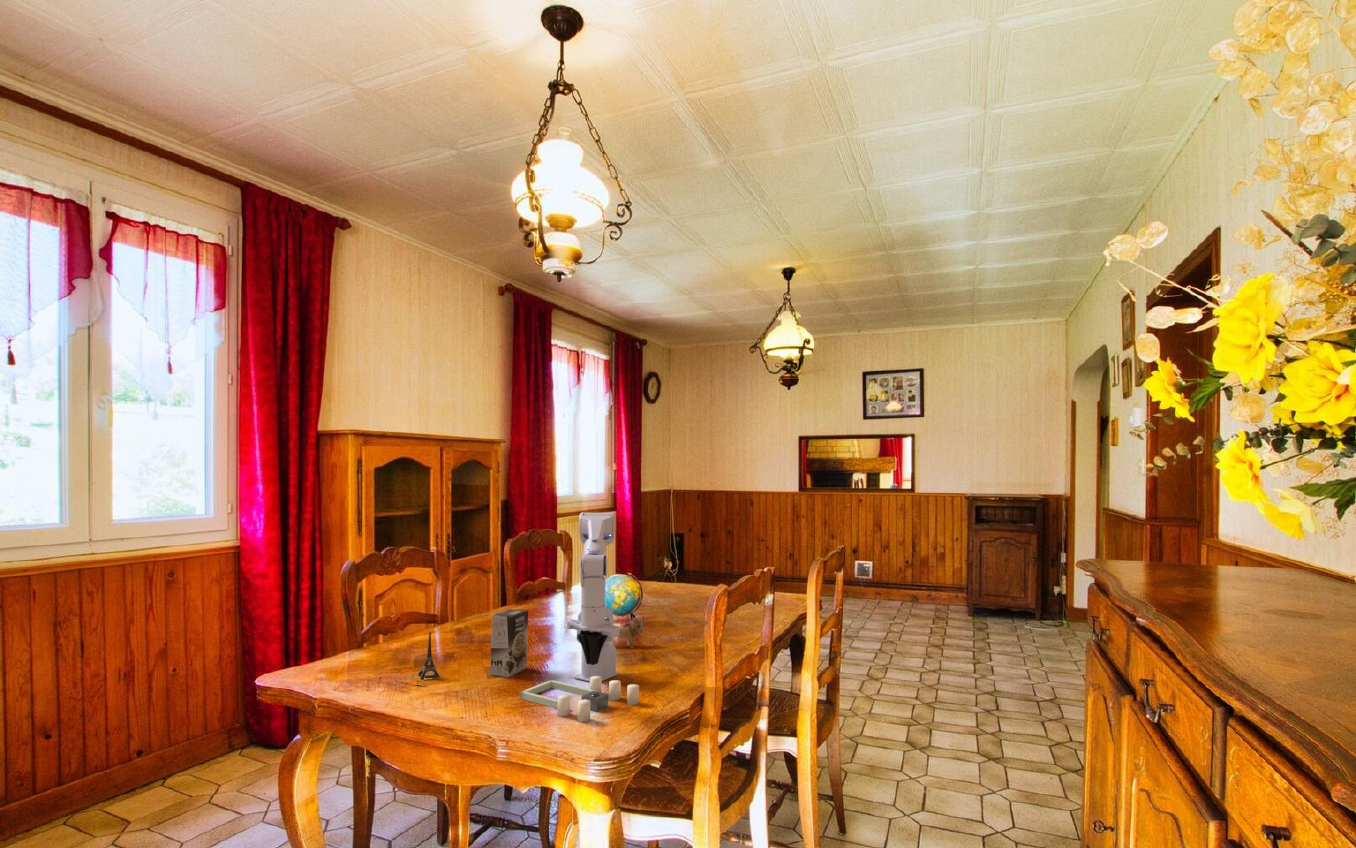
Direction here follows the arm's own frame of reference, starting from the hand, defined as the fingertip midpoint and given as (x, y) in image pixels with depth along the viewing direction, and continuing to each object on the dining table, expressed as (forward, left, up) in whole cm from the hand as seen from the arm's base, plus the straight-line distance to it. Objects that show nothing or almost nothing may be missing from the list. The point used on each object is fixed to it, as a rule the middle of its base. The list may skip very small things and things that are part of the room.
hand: (592, 663), depth 156 cm
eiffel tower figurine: (+7, -51, -11) cm, 53 cm away
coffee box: (-8, -36, -10) cm, 38 cm away
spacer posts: (0, +1, -10) cm, 10 cm away
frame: (0, -11, -10) cm, 14 cm away
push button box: (0, +1, -10) cm, 10 cm away
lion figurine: (-46, -25, -10) cm, 53 cm away
